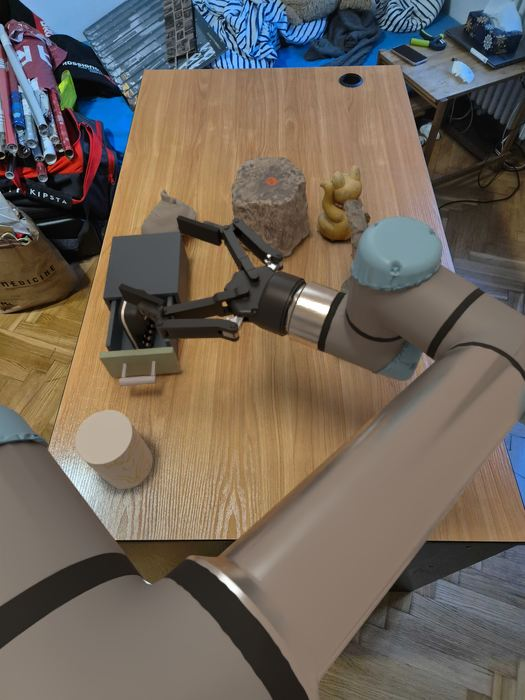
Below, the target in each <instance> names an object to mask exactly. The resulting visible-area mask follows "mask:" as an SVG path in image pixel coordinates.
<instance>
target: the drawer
mask: <svg viewBox="0 0 525 700" xmlns="http://www.w3.org/2000/svg"><path fill="white" fill-rule="evenodd" d="M158 298H160V299H163V300H165V302H166V305H167V306H170V305H175V304H177V302H176V299H175V296H174V295H173V296H159V297H158ZM121 300H122V299H119V300H112V305H111V312H110V311H109V318H108V328H107V333H106V339H105V347H106V350H107V351H100V352H99V360H100V362H101V363H102V365H103V366H104V368H105V369H106V371H107V372H108V374H109V375H110V377H111V378H119V379H118V384H119V386H120V387H128V386H129V387H131V386H143V385H156V384H157V383H158V379H157V375H162V374H177V373H181V368H182V367H181V365H180V362H179V359H178V342H179V341H178V340H179V339H162V338H161V337H160V335H159V333H158V330H156V334H155V339H154V343H153V347H152V348H149V349H136V350H134V348H133V346H132V344H131V342H130V340H129V339H128V337H127V335H126V333H125V332H124V330H123V328H122V326H121V324H120V321H119V318H118V311H119V307H120V303H121ZM150 319H151V320H153V321H154V322H155V324H156V322H157V320H154V319H152V318H150Z"/></svg>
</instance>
